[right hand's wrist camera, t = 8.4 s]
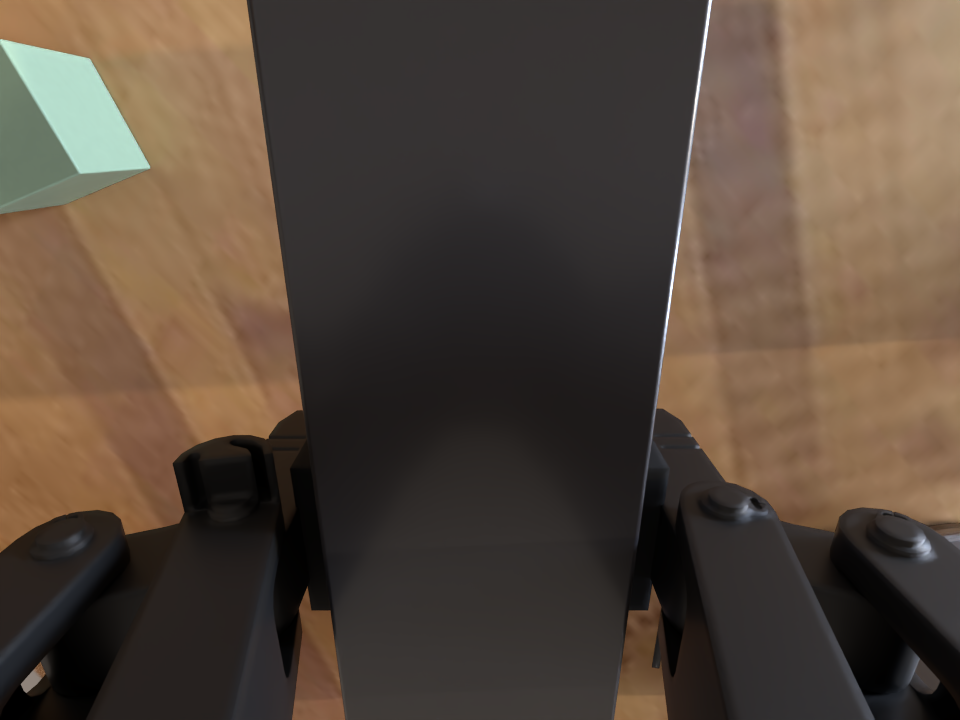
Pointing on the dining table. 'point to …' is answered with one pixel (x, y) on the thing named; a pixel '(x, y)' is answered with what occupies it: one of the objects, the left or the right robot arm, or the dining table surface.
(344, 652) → the plank
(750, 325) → the dining table surface
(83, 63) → the green block
